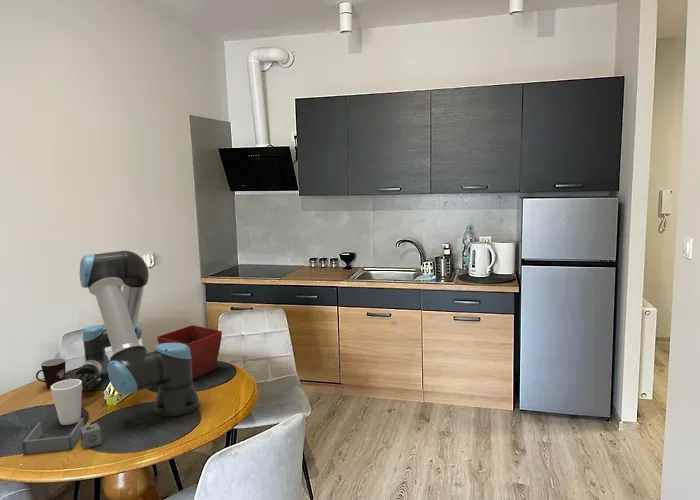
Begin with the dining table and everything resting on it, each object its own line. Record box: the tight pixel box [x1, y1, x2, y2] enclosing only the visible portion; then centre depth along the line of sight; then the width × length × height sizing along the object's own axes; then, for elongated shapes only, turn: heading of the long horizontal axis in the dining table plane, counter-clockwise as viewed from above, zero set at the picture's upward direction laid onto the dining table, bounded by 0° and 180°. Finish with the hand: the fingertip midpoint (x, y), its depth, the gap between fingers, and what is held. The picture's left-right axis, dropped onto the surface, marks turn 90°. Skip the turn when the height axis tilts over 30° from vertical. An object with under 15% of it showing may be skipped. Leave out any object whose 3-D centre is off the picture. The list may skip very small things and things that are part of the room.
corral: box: [21, 417, 85, 455], centre depth 167 cm, size 14×13×4 cm
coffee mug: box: [35, 357, 66, 390], centre depth 211 cm, size 12×9×10 cm
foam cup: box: [50, 378, 83, 426], centre depth 181 cm, size 10×9×13 cm
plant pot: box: [156, 324, 223, 380], centre depth 222 cm, size 19×19×17 cm
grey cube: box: [80, 422, 102, 450], centre depth 166 cm, size 5×5×5 cm
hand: (69, 397), depth 185 cm, fingers closed
